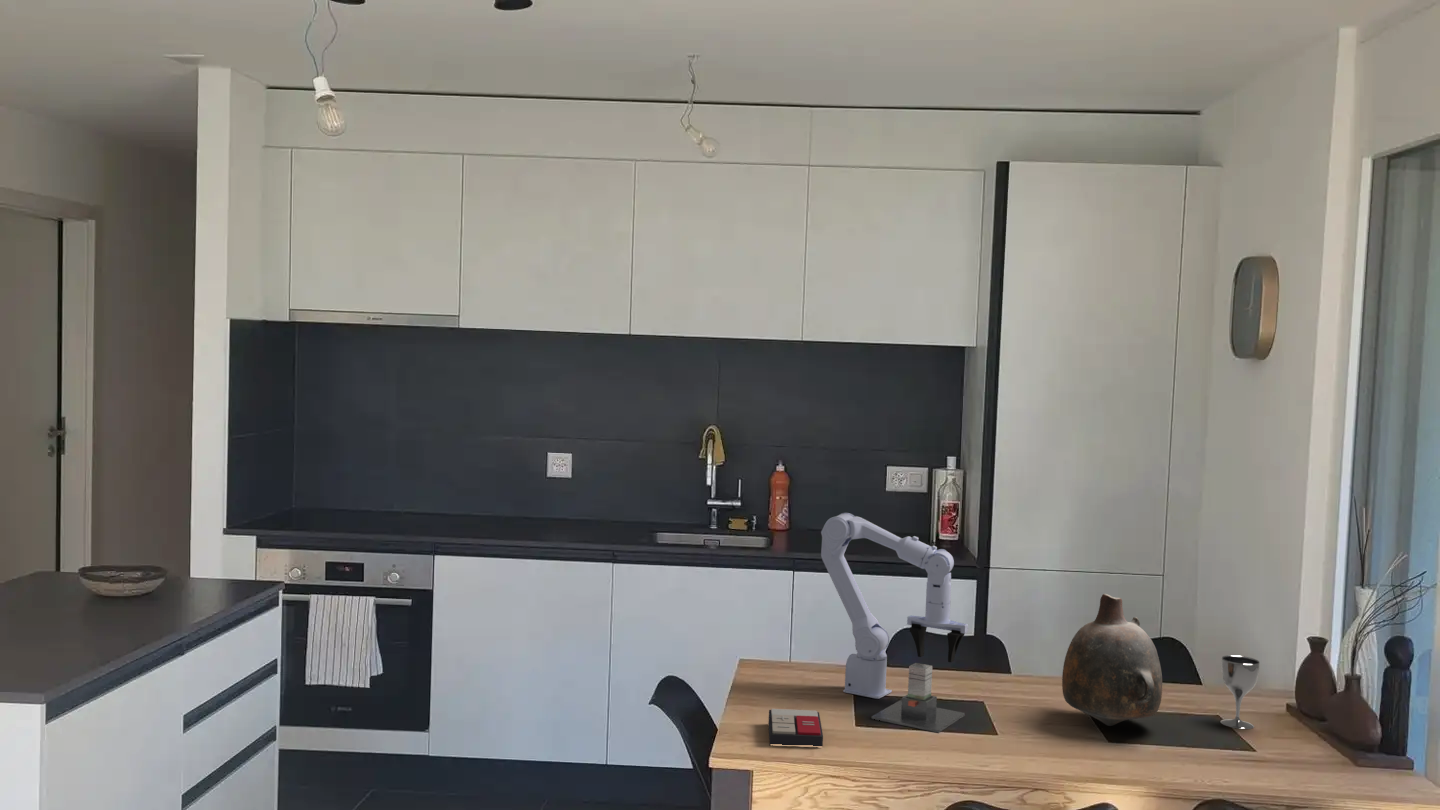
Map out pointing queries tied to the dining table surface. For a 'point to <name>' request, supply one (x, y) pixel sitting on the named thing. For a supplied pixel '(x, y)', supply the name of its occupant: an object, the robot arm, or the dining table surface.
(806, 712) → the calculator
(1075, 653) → the jug
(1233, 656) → the silver goblet
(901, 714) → the stand
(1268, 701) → the dining table surface
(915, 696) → the column
